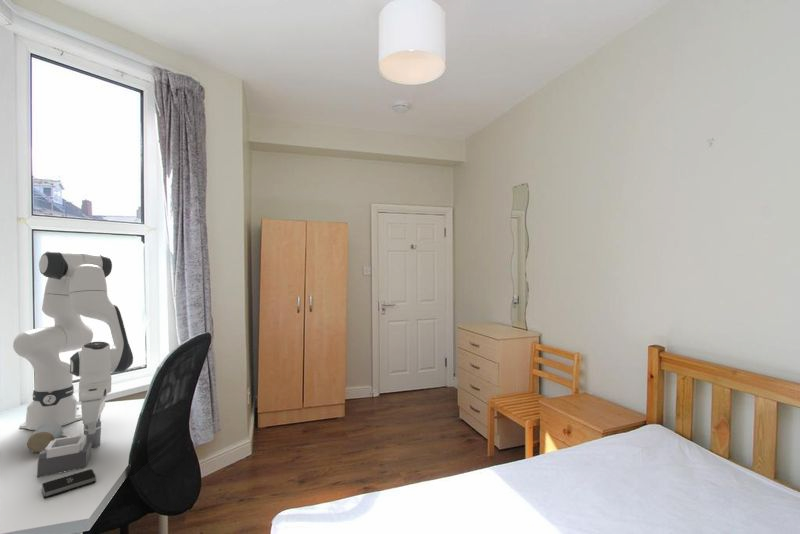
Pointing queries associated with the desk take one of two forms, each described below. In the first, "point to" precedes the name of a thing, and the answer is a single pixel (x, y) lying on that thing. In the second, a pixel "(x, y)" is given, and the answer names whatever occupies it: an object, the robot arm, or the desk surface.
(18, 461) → the desk surface
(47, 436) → the ceramic mug
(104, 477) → the desk surface
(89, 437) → the lens
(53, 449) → the camera body
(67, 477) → the external hard drive
